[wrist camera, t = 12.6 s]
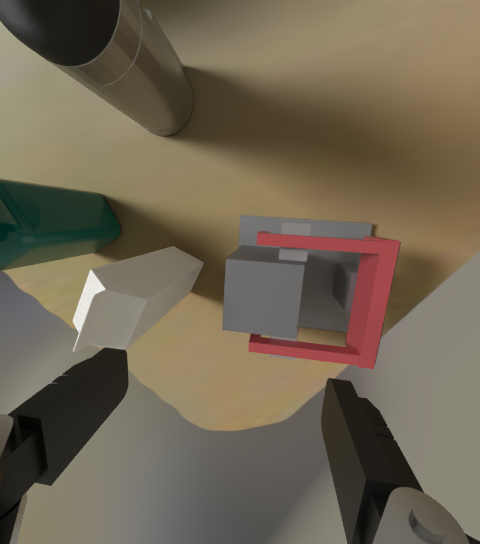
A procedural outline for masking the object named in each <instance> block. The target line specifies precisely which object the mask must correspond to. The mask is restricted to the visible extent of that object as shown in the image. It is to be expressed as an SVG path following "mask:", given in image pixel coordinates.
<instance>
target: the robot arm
mask: <svg viewBox="0 0 480 544" xmlns="http://www.w3.org/2000/svg"><path fill="white" fill-rule="evenodd" d="M0 21H1V22H2V23H3V25H4V26H5V27H6V28H7V29H8V30H9V31H10V32H11V33H12V34H13V35H14V36H15V37H16V38H17V39H18V40H20V41H21V42H22V43H24V44H25V45H26V46H28V47H29V48H30V49H32V50H33V51H35V52H36V53H38V54H39V55H40V56H42V57H43V58H45V59H46V60H47V61H49V62H50V63H52V64H53V65H55V66H56V67H58V68H59V69H60V70H62V71H63V72H65V73H66V74H68V75H69V76H70V77H72V78H73V79H75V80H76V81H78V82H79V83H81V84H82V85H84V86H85V87H86V88H88V89H89V90H91V91H92V92H94V93H95V94H96V95H98V96H99V97H101V98H102V99H104V100H105V101H106V102H108V103H109V104H111V105H112V106H114V107H115V108H117V109H118V110H119V111H121V112H122V113H124V114H125V115H127V116H128V117H129V118H131V119H132V120H134V121H135V122H137V123H138V124H140V125H141V126H142V127H143V128H145V129H147V130H148V131H150V132H151V133H154V134H156V135H161V136H167V135H171V134H174V133H176V132H178V131H179V130H181V129H182V128H183V127H184V126H185V125H186V123H187V122H188V120H189V118H190V116H191V113H192V109H193V93H192V89H191V86H190V83H189V81H188V80H187V78H186V76H185V75H184V66H183V64H182V62H181V61H180V59H179V57H178V56H177V54H176V52H175V50H174V49H173V47H172V45H171V44H170V42H169V40H168V39H167V37H166V35H165V34H164V32H163V30H162V29H161V27H160V25H159V23H158V22H157V20H156V18H155V17H154V15H153V13H152V12H151V11H150V10H148V9H144V8H143V7H142V5H141V3H140V2H139V0H0ZM127 389H128V363H127V353H126V351H125V350H123V349H115V348H108V347H106V348H103V349H102V350H101V351H99V352H98V353H97V354H95V355H94V356H93V357H92V358H89V359H87V360H84V361H82V362H80V363H78V364H76V365H74V366H73V367H71V368H70V369H69V370H67V371H66V372H65V373H63V374H62V376H59V377H58V378H56V379H55V380H54V381H52V383H51V384H48V385H47V386H46V387H44V388H43V389H42V390H40V391H39V392H37V393H36V394H35V395H33V396H32V397H31V398H29V399H28V400H27V401H25V402H24V403H23V404H21V405H20V406H19V407H17V408H16V409H15V410H13V411H12V412H11V413H9V414H8V415H4V414H0V544H16V543H17V539H18V535H19V531H20V527H21V523H22V518H23V515H24V510H25V506H26V502H27V491H28V490H29V488H30V487H31V486H32V485H33V484H34V483H40V484H45V485H50V486H51V485H52V484H53V483H54V481H55V480H56V479H57V478H58V477H59V475H60V474H61V473H62V472H63V471H64V469H65V468H66V467H67V466H68V465H69V463H70V462H71V461H72V460H73V459H74V457H75V456H76V455H77V454H78V453H79V451H80V450H81V449H82V448H83V446H84V445H85V444H86V443H87V442H88V441H89V439H90V438H91V437H92V436H93V435H94V433H95V432H96V431H97V430H98V428H99V427H100V426H101V425H102V424H103V422H104V421H105V420H106V419H107V418H108V416H109V415H110V414H111V413H112V411H113V410H114V409H115V408H116V407H117V406H118V404H119V403H120V402H121V401H122V399H123V398H124V396H125V394H126V392H127ZM321 426H322V433H323V438H324V442H325V446H326V451H327V455H328V460H329V464H330V468H331V473H332V477H333V482H334V486H335V490H336V494H337V499H338V504H339V508H340V512H341V517H342V521H343V526H344V530H345V534H346V539H347V543H348V544H480V541H478V540H476V539H474V538H472V537H470V536H468V535H467V534H465V533H464V531H463V530H462V528H461V526H460V525H459V524H458V522H457V521H456V520H455V519H454V517H453V516H452V515H451V514H450V513H449V512H448V511H447V510H446V509H445V508H444V507H443V506H442V505H441V504H439V503H438V502H437V501H436V500H434V499H433V498H432V497H430V496H428V495H427V494H425V493H424V492H423V490H422V488H421V486H420V484H419V483H418V481H417V479H416V477H415V475H414V473H413V472H412V470H411V468H410V466H409V464H408V462H407V461H406V459H405V457H404V455H403V453H402V451H401V450H400V448H399V446H398V444H397V442H396V441H395V440H394V437H393V435H392V433H391V431H390V430H389V428H387V424H386V422H385V420H384V419H383V417H382V415H381V413H380V411H379V410H378V409H377V408H376V407H375V406H374V405H373V404H372V403H371V402H370V401H369V400H368V399H366V398H360V397H358V395H357V393H356V391H355V389H354V387H353V385H352V383H351V381H346V380H338V379H332V378H328V380H327V383H326V389H325V395H324V402H323V408H322V416H321Z"/></svg>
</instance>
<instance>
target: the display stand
mask: <svg viewBox="0 0 480 544" xmlns="http://www.w3.org/2000/svg"><path fill="white" fill-rule="evenodd" d="M371 229H372V223H356V222H340V221H324V220H308V219H292V218H277V217H261V216H245V215H240V229H239V246H238V249H237V250H236V251H234V252H233V253H232V254H231V255H230V256H229V257H227V258H226V265H225V285H224V306H223V326H222V330H227V331H235V332H243V333H252V334H260V335H268V336H271V338H272V339H280V340H289V341H297V334H298V327H305V328H314V329H323V330H331V331H340V332H347V331H348V325H349V320H350V314H351V308H352V302H353V297H354V291H355V285H356V280H357V274H358V268H359V263H360V257H361V253H359V252H346V251H333V250H319V249H306V248H293V247H279V246H266V245H257V233H258V232H259V231H270V233H275V234H290V235H304V236H319V237H333V238H348V239H362V240H364V236H370V235H371ZM269 356H272V357H279V358H287V359H294V358H295V357H288V356H280V355H272V354H269Z"/></svg>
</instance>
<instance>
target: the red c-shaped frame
mask: <svg viewBox="0 0 480 544" xmlns="http://www.w3.org/2000/svg"><path fill="white" fill-rule="evenodd" d="M400 244H401V243H400V241H398V240H392V239H387V238H381V237H371V236H364V240H362V239H348V238H333V237H319V236H304V235H290V234H275V233H270V231H259V232H258V233H257V245H266V246H279V247H293V248H306V249H319V250H333V251H346V252H359V253H361V257H360V263H359V268H358V274H357V280H356V285H355V291H354V297H353V302H352V308H351V314H350V320H349V325H348V331H347V337H346V342H345V345H346V346H347V347H339V346H330V345H322V344H314V343H305V342H297V341H289V340H280V339H272V338H264V337H261V335H260V334H252V333H251V335H250V340H249V352H257V353H264V354H272V355H280V356H288V357H296V358H304V359H312V360H319V361H327V362H335V363H343V364H351V365H358V367H362V368H369V369H374V364H375V362H376V357H377V353H378V348H379V343H380V339H381V334H382V329H383V324H384V323H383V322H384V317H385V312H386V307H387V303H388V298H389V293H390V291H391V286H392V282H393V277H394V272H395V267H396V263H397V258H398V253H399V248H400Z"/></svg>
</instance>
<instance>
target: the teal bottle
mask: <svg viewBox="0 0 480 544" xmlns="http://www.w3.org/2000/svg"><path fill="white" fill-rule="evenodd" d="M120 231H121V228H120V224H119V222H118V221H117V219H116V218H115V216H114V214H113V213H112V211H111V209H110V208H109V206H108V205H107V203H106V201H105V200H104V198H103V197H102V196H101V195H100V194H98V193H95V192H90V191H83V190H76V189H69V188H62V187H55V186H48V185H41V184H34V183H27V182H20V181H13V180H6V179H0V271H3V270H8V269H13V268H18V267H24V266H29V265H34V264H39V263H44V262H49V261H54V260H60V259H65V258H70V257H75V256H80V255H85V254H91V253H95V252H97V251H99V250H100V249H102V248H103V247H105V246H106V245H108V244H109V243H111V242H113V241H114V240H116V239H117V238H118V237H119V235H120Z"/></svg>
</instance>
